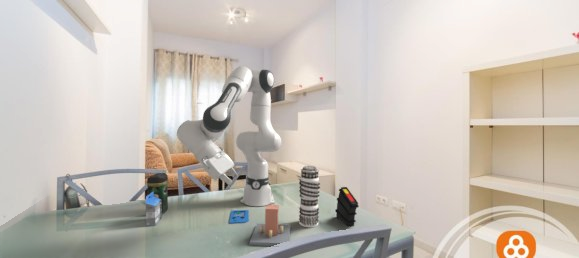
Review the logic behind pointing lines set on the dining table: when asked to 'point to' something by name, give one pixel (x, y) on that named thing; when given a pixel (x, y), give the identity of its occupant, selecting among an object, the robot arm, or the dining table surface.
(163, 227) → the dining table surface
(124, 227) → the dining table surface
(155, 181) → the coffee jar
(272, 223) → the salmon pink block
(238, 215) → the handheld gaming device
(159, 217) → the label tape box
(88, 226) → the dining table surface
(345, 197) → the black ribbed casing
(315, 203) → the decorative candle
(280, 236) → the plate
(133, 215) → the dining table surface
